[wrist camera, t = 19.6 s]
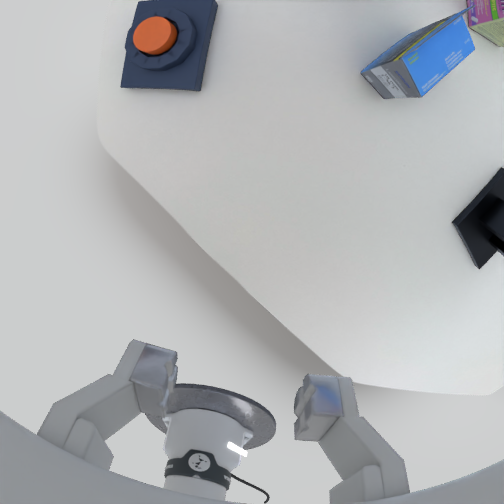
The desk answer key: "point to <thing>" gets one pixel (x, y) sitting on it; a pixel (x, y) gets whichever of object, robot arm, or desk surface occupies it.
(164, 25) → the button
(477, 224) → the bracket
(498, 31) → the box
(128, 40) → the control block
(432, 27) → the tape cartridge
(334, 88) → the desk surface
